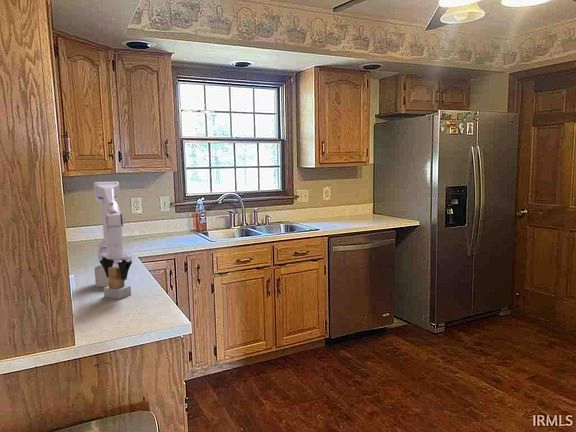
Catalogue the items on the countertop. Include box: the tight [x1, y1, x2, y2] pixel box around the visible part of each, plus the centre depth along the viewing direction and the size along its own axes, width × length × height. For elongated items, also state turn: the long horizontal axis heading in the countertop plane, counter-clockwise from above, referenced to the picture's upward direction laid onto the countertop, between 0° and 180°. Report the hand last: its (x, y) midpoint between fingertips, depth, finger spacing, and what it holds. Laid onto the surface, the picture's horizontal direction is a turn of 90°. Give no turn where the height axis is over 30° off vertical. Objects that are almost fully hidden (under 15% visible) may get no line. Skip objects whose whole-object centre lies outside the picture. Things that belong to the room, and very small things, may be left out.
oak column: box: [108, 266, 125, 289], centre depth 170 cm, size 4×4×8 cm
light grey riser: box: [103, 284, 132, 300], centre depth 171 cm, size 6×8×4 cm
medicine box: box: [94, 264, 117, 288], centre depth 184 cm, size 8×4×9 cm, turn 91°
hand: (116, 278), depth 170 cm, fingers open, 7 cm apart
